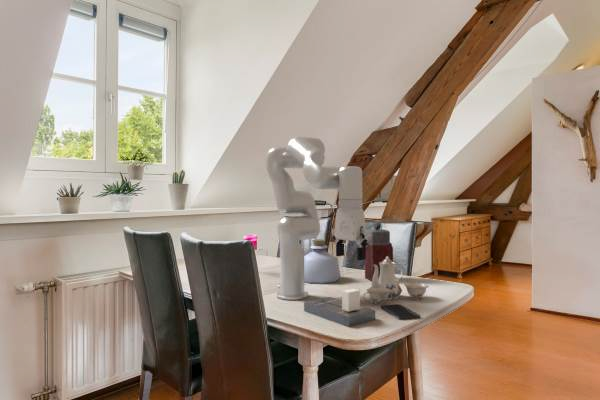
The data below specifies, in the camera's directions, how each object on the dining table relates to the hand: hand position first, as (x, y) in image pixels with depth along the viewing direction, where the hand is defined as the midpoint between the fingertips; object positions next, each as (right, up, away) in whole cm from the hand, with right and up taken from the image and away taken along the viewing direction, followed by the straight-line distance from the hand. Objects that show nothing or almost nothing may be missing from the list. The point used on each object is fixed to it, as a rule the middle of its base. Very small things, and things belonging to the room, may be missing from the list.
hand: (350, 257), depth 133 cm
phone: (+18, -20, +7) cm, 28 cm away
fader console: (-3, -20, +5) cm, 21 cm away
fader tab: (0, -17, 0) cm, 17 cm away
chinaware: (+19, -20, +26) cm, 38 cm away
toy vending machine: (+21, -19, +62) cm, 68 cm away
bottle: (-7, -19, +63) cm, 66 cm away
